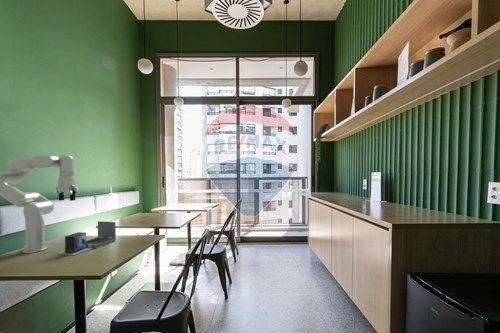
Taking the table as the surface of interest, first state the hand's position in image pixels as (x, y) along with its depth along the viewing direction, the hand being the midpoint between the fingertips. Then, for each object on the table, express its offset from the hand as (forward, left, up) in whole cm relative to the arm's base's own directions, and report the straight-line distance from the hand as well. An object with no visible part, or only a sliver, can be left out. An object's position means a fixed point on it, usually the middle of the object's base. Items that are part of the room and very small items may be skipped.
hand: (67, 200), depth 164 cm
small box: (+10, -2, -32) cm, 34 cm away
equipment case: (+10, +13, -32) cm, 36 cm away
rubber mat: (+10, -2, -32) cm, 34 cm away
